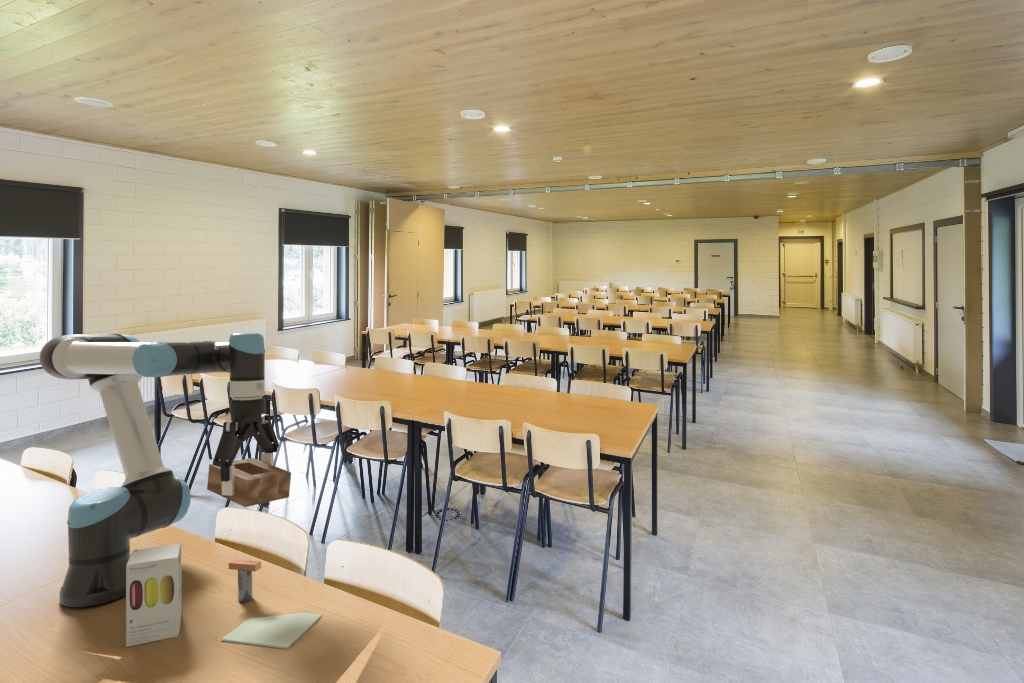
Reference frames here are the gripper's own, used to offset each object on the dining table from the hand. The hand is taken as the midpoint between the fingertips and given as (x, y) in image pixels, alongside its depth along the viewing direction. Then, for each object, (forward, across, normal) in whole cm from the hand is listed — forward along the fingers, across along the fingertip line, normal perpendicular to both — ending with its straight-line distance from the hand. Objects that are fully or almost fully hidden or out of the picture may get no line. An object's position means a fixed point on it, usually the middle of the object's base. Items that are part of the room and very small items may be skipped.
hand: (248, 487), depth 132 cm
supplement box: (+27, -17, +10) cm, 33 cm away
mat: (+27, -11, -14) cm, 32 cm away
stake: (+27, -3, -1) cm, 27 cm away
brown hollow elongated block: (+1, 0, 0) cm, 1 cm away
